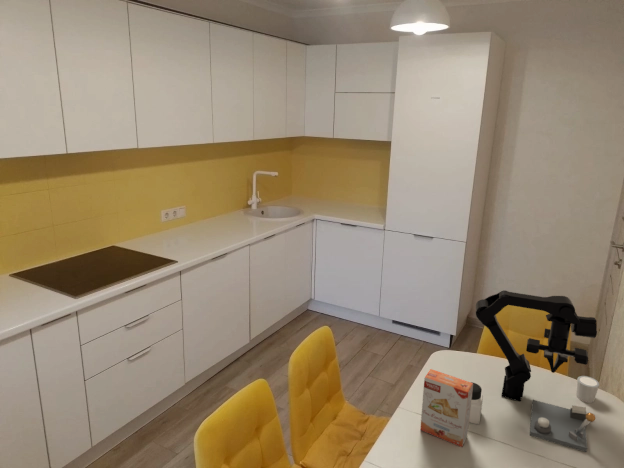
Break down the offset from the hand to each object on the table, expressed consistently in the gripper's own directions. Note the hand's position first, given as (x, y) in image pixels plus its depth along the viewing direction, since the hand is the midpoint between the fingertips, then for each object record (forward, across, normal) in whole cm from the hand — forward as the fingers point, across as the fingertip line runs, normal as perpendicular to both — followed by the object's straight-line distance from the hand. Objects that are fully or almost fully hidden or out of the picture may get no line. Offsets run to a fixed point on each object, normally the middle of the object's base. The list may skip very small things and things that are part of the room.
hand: (552, 372), depth 160 cm
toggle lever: (+10, -8, +18) cm, 22 cm away
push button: (+9, +2, +19) cm, 21 cm away
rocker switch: (+8, -9, +7) cm, 14 cm away
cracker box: (+12, +30, +34) cm, 47 cm away
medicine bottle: (+12, +24, +21) cm, 34 cm away
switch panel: (+12, -3, +13) cm, 18 cm away
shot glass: (+12, -12, -8) cm, 19 cm away
